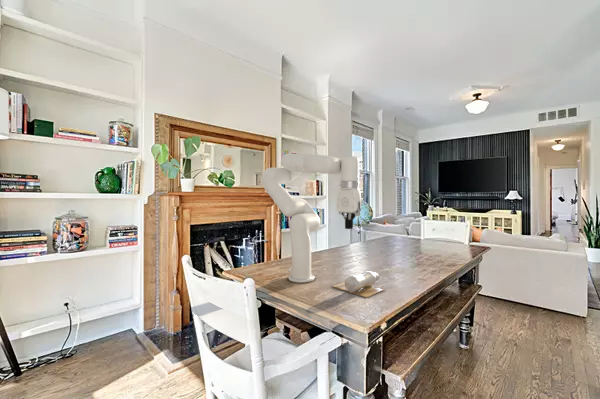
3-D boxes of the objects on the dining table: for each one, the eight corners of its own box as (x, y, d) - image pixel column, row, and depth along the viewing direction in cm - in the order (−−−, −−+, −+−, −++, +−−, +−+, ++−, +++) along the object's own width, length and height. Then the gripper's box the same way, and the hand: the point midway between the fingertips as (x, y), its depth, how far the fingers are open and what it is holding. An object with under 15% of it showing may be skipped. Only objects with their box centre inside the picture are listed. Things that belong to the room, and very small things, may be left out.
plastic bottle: (358, 288, 112) (385, 279, 125) (349, 273, 115) (376, 266, 129) (348, 296, 115) (375, 286, 129) (340, 281, 119) (367, 273, 132)
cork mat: (332, 286, 125) (332, 285, 125) (349, 281, 133) (349, 280, 133) (366, 297, 111) (366, 296, 111) (383, 290, 119) (383, 289, 119)
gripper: (330, 185, 123) (329, 227, 124) (358, 185, 112) (358, 231, 113) (341, 186, 128) (340, 226, 129) (369, 185, 117) (368, 229, 118)
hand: (348, 228), depth 121 cm, fingers closed
